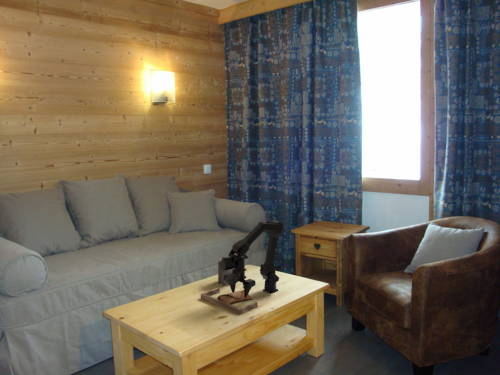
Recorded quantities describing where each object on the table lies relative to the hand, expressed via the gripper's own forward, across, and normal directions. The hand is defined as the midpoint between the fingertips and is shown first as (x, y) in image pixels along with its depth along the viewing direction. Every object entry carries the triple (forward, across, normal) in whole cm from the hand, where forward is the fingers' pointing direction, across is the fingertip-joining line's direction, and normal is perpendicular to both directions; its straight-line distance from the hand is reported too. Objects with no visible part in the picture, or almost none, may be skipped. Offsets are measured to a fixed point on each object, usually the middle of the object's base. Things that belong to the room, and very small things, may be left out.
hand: (239, 295), depth 243 cm
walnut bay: (+2, 0, -8) cm, 8 cm away
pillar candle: (+2, -22, +12) cm, 25 cm away
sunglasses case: (+2, 0, -3) cm, 4 cm away
